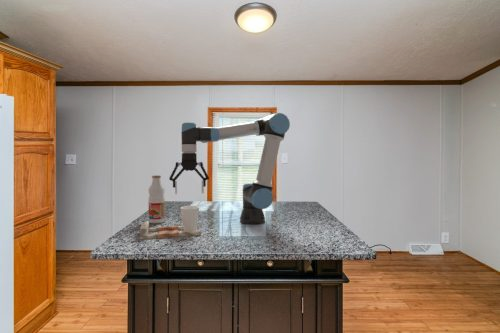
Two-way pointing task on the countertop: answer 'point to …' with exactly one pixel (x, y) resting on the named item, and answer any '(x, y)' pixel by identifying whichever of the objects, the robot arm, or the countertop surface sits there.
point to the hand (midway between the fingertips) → (189, 193)
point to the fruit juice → (156, 201)
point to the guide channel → (164, 231)
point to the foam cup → (190, 218)
